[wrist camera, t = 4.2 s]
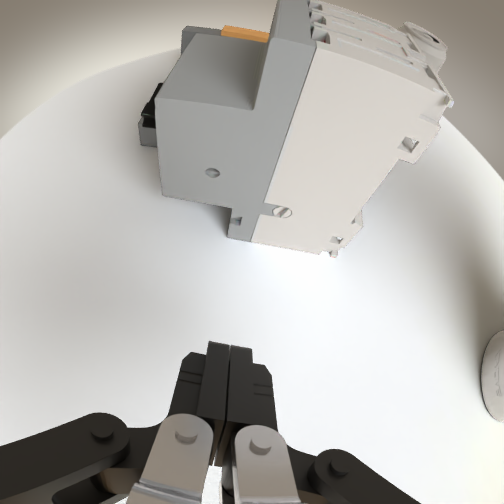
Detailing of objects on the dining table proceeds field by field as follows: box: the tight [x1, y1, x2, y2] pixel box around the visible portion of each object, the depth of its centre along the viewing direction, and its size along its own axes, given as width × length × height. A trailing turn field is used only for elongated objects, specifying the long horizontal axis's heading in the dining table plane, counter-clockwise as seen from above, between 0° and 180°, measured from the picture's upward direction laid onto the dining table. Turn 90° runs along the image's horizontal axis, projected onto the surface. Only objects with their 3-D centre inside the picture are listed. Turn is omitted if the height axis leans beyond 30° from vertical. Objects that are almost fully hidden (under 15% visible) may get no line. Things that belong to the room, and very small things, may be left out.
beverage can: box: [397, 22, 448, 73], centre depth 30 cm, size 6×6×12 cm
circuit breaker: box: [141, 0, 454, 258], centre depth 18 cm, size 8×14×15 cm, turn 83°
